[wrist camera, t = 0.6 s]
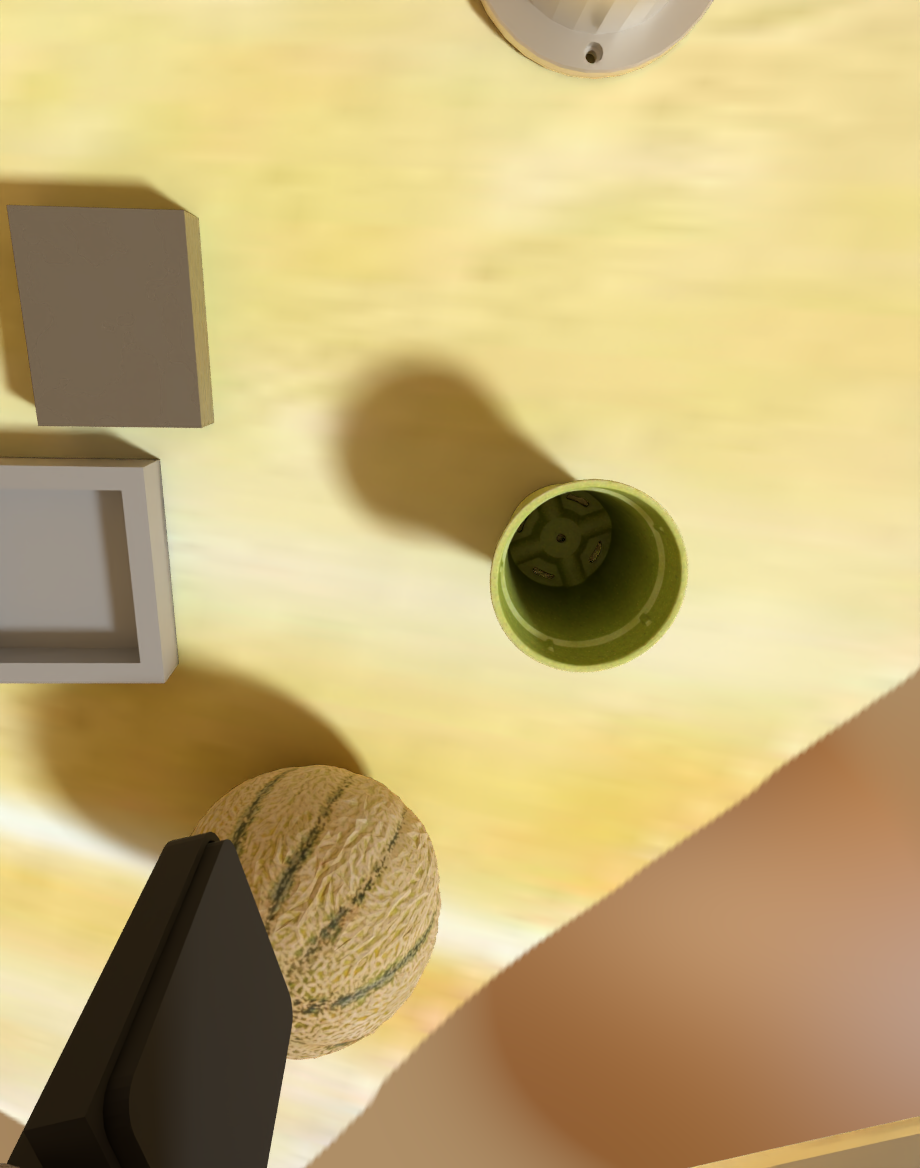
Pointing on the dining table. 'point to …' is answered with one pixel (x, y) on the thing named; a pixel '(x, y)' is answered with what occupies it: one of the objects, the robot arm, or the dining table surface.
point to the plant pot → (588, 575)
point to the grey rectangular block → (113, 315)
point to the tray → (84, 572)
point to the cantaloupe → (335, 895)
